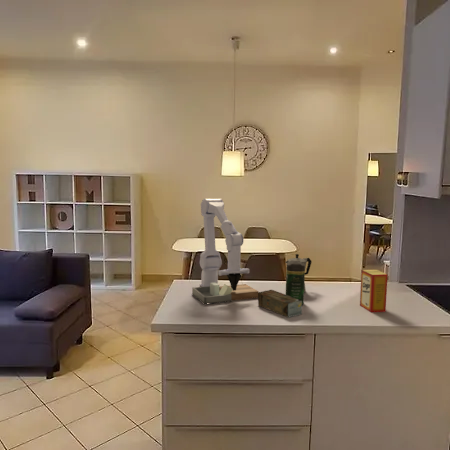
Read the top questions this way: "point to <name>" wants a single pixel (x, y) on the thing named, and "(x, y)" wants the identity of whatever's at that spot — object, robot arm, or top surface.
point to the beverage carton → (280, 303)
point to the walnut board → (243, 292)
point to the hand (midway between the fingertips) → (233, 289)
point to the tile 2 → (225, 290)
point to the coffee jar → (295, 279)
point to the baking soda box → (373, 290)
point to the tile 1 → (214, 289)
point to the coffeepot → (303, 263)
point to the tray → (209, 295)
